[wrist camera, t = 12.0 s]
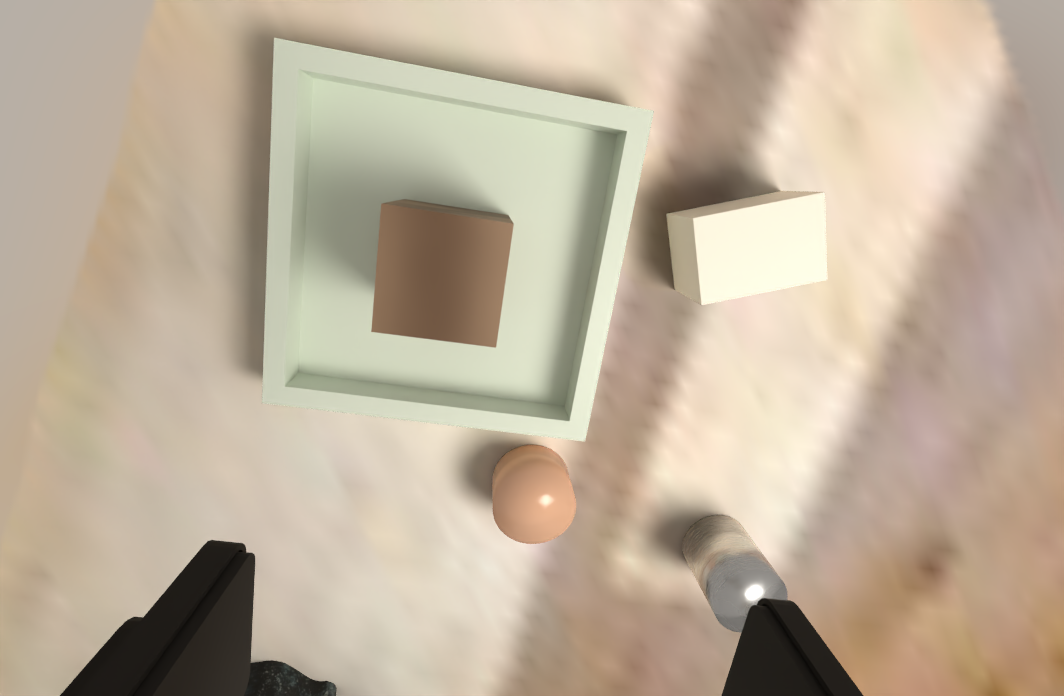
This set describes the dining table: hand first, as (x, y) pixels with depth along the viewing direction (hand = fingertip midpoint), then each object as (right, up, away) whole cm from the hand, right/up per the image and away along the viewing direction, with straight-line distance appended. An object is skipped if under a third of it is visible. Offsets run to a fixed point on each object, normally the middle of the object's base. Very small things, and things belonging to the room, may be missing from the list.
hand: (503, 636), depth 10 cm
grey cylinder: (+12, -7, +24) cm, 27 cm away
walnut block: (-3, +10, +17) cm, 20 cm away
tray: (-3, +10, +18) cm, 21 cm away
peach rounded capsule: (0, -2, +22) cm, 22 cm away
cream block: (+11, +11, +19) cm, 24 cm away
